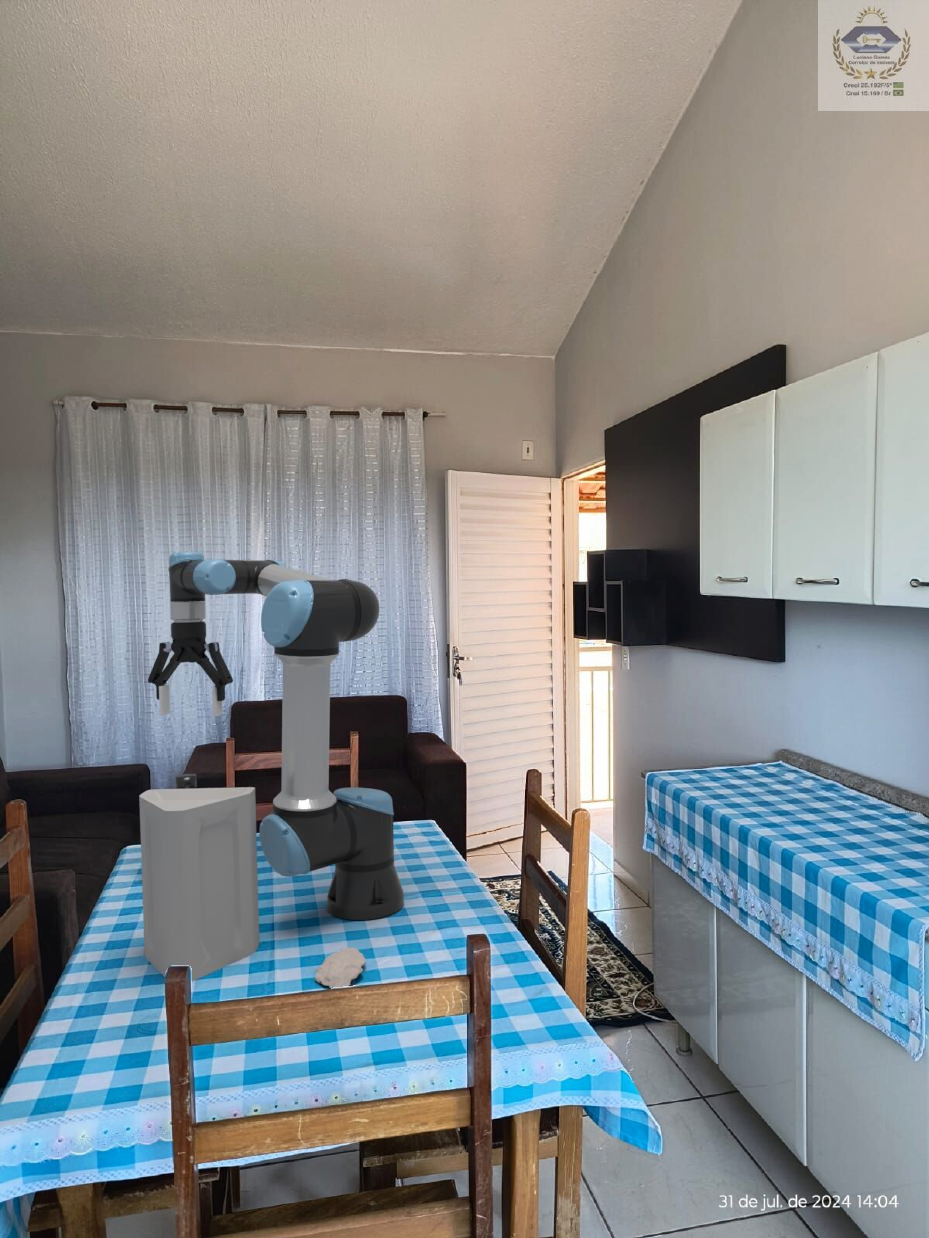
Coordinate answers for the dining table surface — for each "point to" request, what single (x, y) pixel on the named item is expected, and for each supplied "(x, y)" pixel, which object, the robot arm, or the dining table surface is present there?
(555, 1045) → the dining table surface
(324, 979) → the stone tool
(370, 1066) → the dining table surface
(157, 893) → the grey triangular prism
